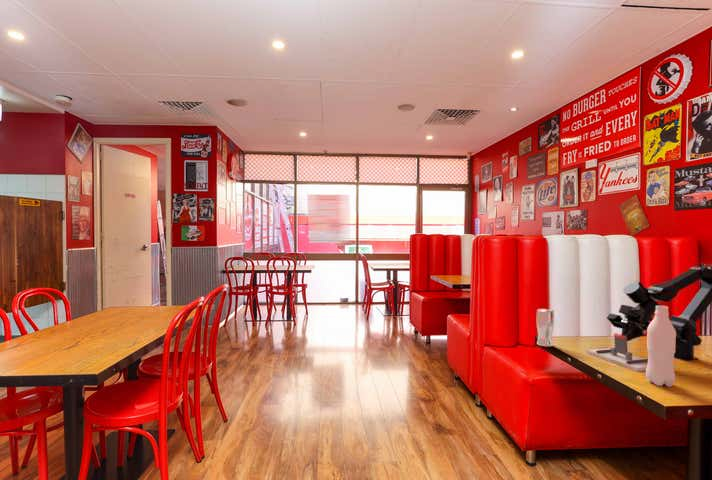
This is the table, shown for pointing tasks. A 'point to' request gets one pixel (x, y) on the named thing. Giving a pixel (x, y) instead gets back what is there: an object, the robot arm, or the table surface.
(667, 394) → the table surface
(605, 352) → the plate
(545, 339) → the beer glass
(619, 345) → the lever
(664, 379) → the water bottle
